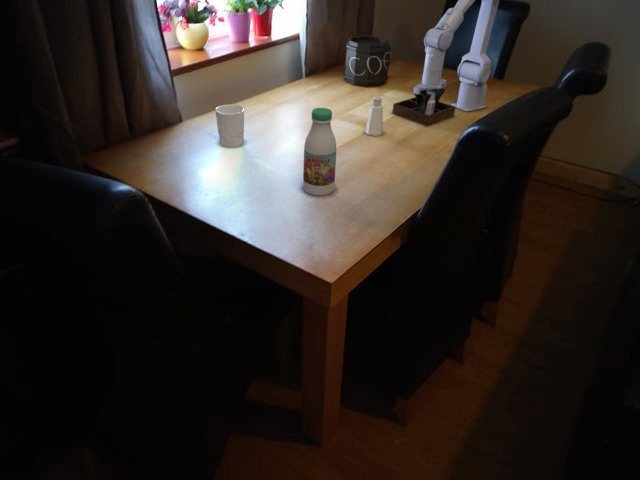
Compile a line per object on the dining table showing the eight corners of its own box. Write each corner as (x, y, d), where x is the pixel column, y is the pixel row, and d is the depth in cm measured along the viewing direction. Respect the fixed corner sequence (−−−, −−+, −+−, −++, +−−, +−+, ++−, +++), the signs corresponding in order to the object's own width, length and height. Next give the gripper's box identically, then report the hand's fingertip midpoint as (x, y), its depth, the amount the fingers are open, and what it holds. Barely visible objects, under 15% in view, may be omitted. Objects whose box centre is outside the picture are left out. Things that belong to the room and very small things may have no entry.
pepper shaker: (372, 128, 160) (376, 93, 154) (386, 133, 157) (390, 98, 151) (361, 132, 157) (364, 97, 151) (374, 137, 154) (378, 102, 148)
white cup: (250, 140, 149) (248, 106, 143) (237, 150, 142) (236, 115, 137) (226, 135, 151) (223, 102, 145) (213, 145, 144) (210, 111, 139)
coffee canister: (391, 89, 195) (396, 46, 186) (344, 87, 195) (347, 44, 186) (386, 75, 210) (391, 35, 201) (343, 73, 210) (346, 33, 201)
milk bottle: (302, 181, 128) (303, 104, 117) (332, 181, 129) (337, 104, 117) (304, 196, 122) (305, 116, 110) (335, 196, 122) (340, 116, 111)
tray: (419, 104, 181) (420, 95, 179) (453, 116, 172) (455, 106, 170) (392, 113, 172) (393, 103, 170) (427, 126, 164) (428, 116, 162)
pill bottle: (432, 121, 165) (436, 96, 161) (417, 120, 166) (421, 94, 161) (432, 116, 169) (436, 91, 165) (418, 115, 170) (422, 90, 165)
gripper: (429, 76, 152) (422, 119, 160) (456, 68, 161) (449, 110, 168) (410, 71, 156) (405, 113, 164) (438, 63, 165) (432, 104, 172)
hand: (426, 111), depth 166 cm, fingers closed on pill bottle, 5 cm apart
